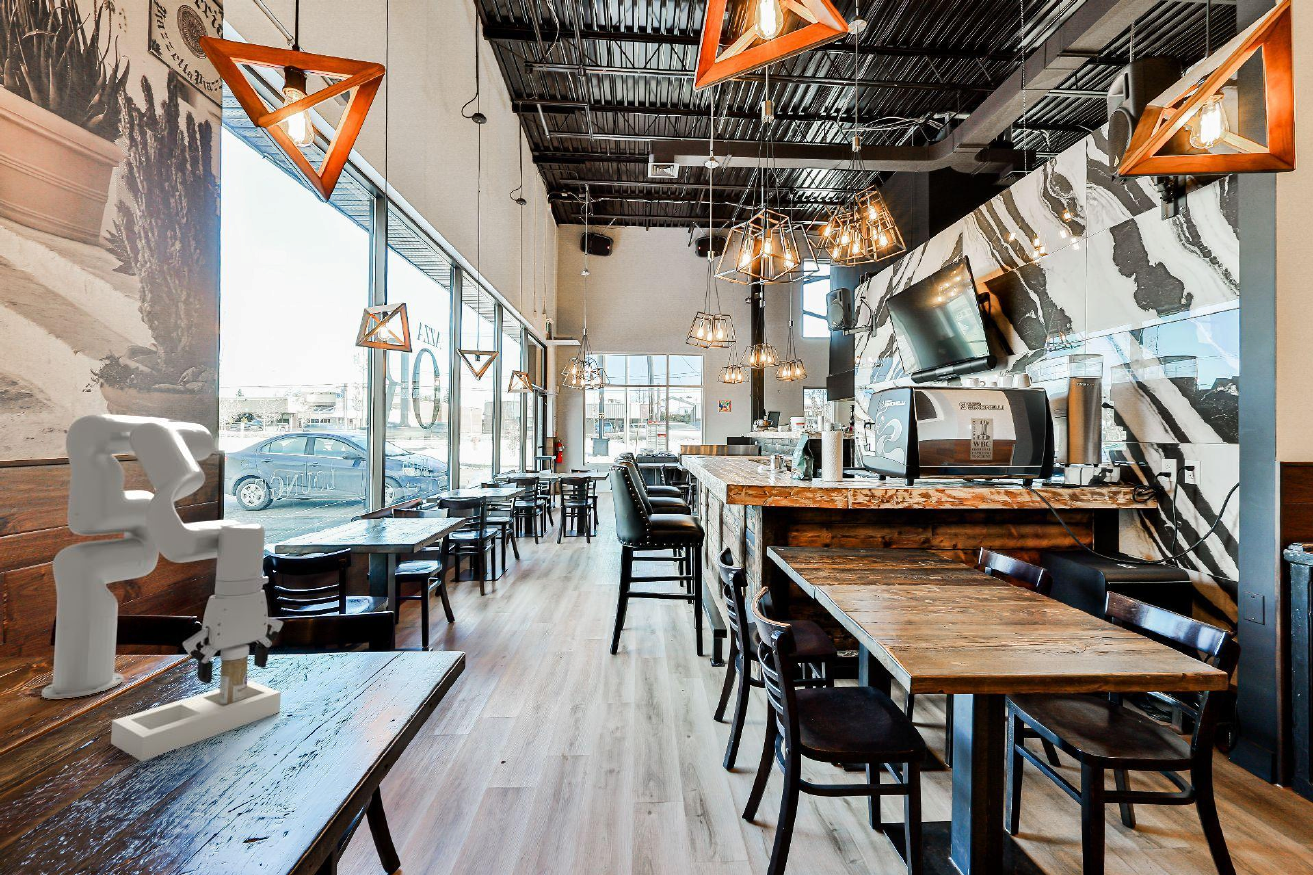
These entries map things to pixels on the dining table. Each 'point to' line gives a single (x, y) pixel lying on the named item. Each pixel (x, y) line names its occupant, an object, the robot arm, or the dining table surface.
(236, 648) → the sprinkles bottle
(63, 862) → the dining table surface
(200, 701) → the condiment rack
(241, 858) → the dining table surface
